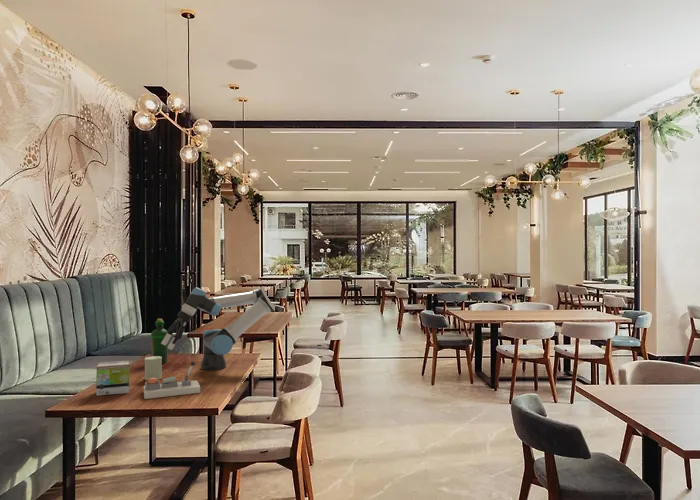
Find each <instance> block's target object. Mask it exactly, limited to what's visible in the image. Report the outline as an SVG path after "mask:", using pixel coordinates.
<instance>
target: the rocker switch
mask: <svg viewBox="0 0 700 500" xmlns="http://www.w3.org/2000/svg"><path fill="white" fill-rule="evenodd" d="M170 381H177V377H176V376H175V375H173V376H170V377H166V378H163V379H162V382H164V383H166V382H170Z"/></svg>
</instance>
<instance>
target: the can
mask: <svg viewBox="0 0 700 500" xmlns="http://www.w3.org/2000/svg"><path fill="white" fill-rule="evenodd" d="M162 369H163V366H162V357H160V356H152V355H151V356H146V357H145V358H144V380H145V381H148V378H157V379H158V380H160V379H162V378H163V375H162V374H163V372H162V371H163V370H162Z"/></svg>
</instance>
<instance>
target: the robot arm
mask: <svg viewBox="0 0 700 500" xmlns="http://www.w3.org/2000/svg"><path fill="white" fill-rule="evenodd" d="M246 305H251V306H250V307H249V309H247V310H246V311H245V312H244V313H243V314H242V315H240V316H239V317H238V318H237V319H236V320H235V321H233V322H232V323H231V324H230V325H229V326H227V327H222V329H209V330H208V329H207V330H204V331H203V333H202V334H203V335H202V338H203V340H202V341H203V345H202V347H203V356H202V359H201V362H200V369H201V370H204V371H206V370H207V371H215V370H221V369H225V368H226V367H227V362H226V358H225V355H227V354H229V353H230V351H231V350H232V349H233V346H234V345H235V344H236V343H237V341H238V338H239V337H241V336H242V334H243V333H245V332H246V331H247V330H248V329H249V328H251V327H252V326H253V325H254V324H255V323H256V322H257V321H259V320H260V319H261V318H262V317H264V315H265V314H267V313H271V312H273V311H274V307H273V306H272V305H271V304H270V302H269V300H268V299H267V297H266V295H265V293H264V291H263V289H262V288H258V289H257V288H256V289H252V290H251V291H248V292H241V293H234V294H226V295H225V294H224V295H221V296H212V297H208V296H207V292H206V291H204V290H203V289H201V288H199V287H194V288H193V289H192V291H191V292H190V294H189V295H188V297H187V299H186V301H185V302H184V304H182V308H181V310H179V312H178V313H177V317H178V318H176V319H175V320H174V321H173V323H172V324H171V325H170V326H169V327H168V329H166V330H167V334H166V336H165V338H164V339H163V341H162V343H161V344H163V345H165V346H166V344H167V342H168V347H167V348H168V350H171V351H172V350H173V349H174V347H175V345H176V344H177V342H178V341H179V340H181V339H182V336H183V334H184V332H185V329H186V326H187V325H188V323H189V322H190V321H191V320H192V316H194V315H195V313H196V312H197V310H198V309H199V310H200V311H201V312H202V311H203V312H205V313H208V314H209V315H212V316H213V317H216V316H217V315H218V314H219V313H220V312H221V309H226V308H232V307H239V306H246ZM173 333H175V335H174V334H173ZM172 336H173V338H172V339H171V337H172ZM169 340H170V343H169Z"/></svg>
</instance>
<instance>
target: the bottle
mask: <svg viewBox="0 0 700 500" xmlns="http://www.w3.org/2000/svg"><path fill="white" fill-rule="evenodd" d="M154 325H155V327H156V329H154V330H153V331H151V333H150V342H151V357H152V356H160V357H162V364H163V365H164V364H166V363H167V362H168V354H169V352H168V351H169V349H168V348H167V347H168V346H169V341H168V342H167V344H166V346H165V345H163V344H161V343H162V341H163V339H164V338H165V336H166V334H167V330H168V329H165V328H164V325H165V321H164V320H163V318H157V319H156V321H155V323H154Z"/></svg>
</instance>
